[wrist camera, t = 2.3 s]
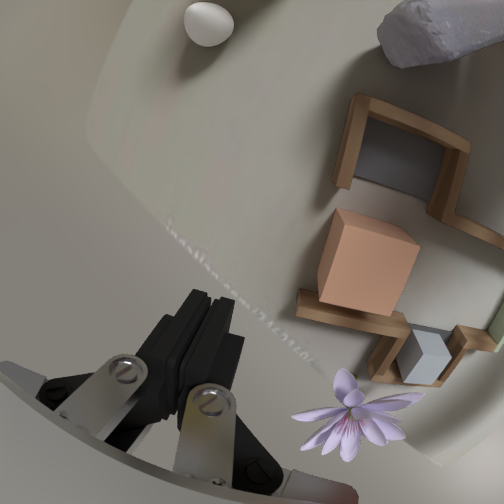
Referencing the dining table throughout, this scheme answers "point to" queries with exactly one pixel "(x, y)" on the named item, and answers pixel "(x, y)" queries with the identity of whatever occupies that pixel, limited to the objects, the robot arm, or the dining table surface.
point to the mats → (400, 169)
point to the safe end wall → (498, 329)
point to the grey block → (422, 357)
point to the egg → (208, 23)
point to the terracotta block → (365, 263)
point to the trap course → (439, 208)
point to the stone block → (439, 30)
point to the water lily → (356, 418)
